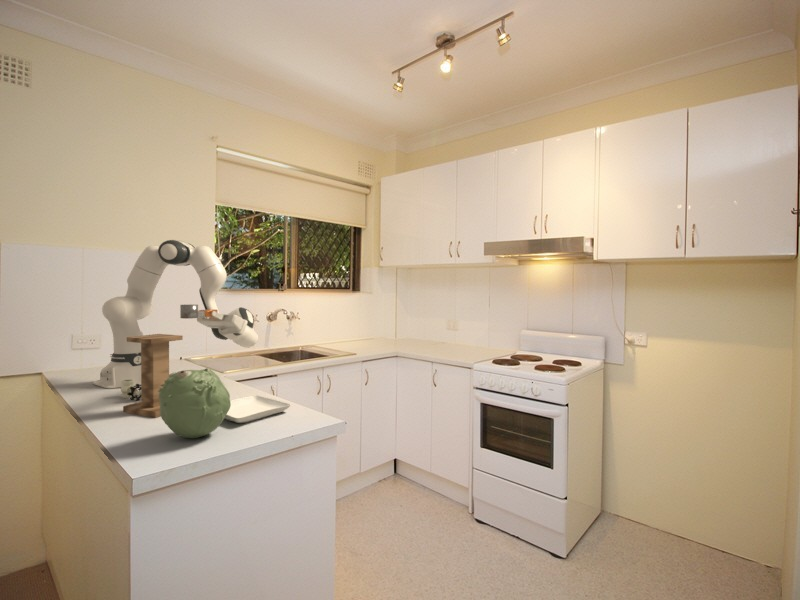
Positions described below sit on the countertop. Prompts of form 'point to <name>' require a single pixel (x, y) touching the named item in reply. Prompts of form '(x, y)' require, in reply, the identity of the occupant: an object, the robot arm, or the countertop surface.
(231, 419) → the salad plate
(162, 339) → the stand
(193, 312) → the valve lever
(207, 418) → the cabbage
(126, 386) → the valve
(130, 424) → the countertop surface
